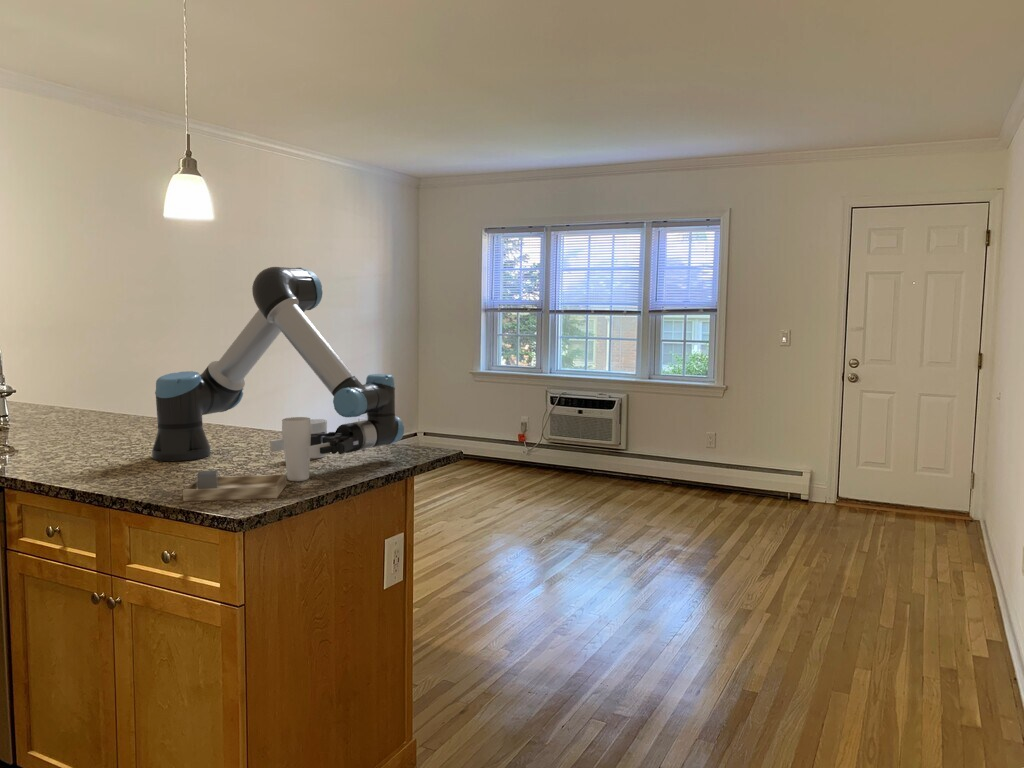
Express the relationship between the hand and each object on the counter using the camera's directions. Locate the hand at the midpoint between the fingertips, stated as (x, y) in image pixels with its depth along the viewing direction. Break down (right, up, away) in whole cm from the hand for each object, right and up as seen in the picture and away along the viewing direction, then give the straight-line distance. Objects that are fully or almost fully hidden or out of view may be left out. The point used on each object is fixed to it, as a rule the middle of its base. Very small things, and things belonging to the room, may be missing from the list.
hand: (288, 449), depth 192 cm
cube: (-15, -8, -11) cm, 20 cm away
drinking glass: (+1, -8, +3) cm, 9 cm away
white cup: (-2, -5, +32) cm, 32 cm away
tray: (-9, -9, -10) cm, 16 cm away
